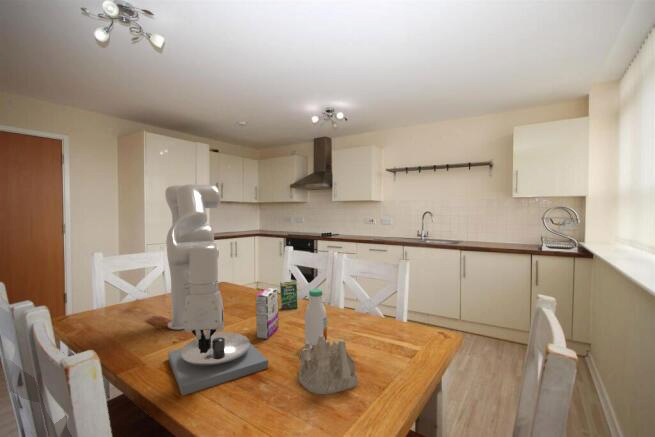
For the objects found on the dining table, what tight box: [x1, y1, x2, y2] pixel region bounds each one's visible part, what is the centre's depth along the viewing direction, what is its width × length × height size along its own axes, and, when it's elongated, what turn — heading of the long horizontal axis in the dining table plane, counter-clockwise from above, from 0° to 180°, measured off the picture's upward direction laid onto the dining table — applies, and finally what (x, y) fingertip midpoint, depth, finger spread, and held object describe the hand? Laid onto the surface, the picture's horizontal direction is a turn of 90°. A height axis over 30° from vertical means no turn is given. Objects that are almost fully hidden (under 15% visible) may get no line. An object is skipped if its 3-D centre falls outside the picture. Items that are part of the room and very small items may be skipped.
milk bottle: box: [304, 288, 328, 346], centre depth 107 cm, size 8×8×20 cm
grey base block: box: [167, 341, 269, 397], centre depth 96 cm, size 24×24×4 cm
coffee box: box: [279, 280, 298, 311], centre depth 150 cm, size 8×3×13 cm, turn 103°
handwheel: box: [181, 332, 250, 366], centre depth 96 cm, size 20×20×7 cm
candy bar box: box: [255, 287, 279, 340], centre depth 119 cm, size 11×5×16 cm, turn 168°
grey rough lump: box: [298, 335, 359, 395], centre depth 88 cm, size 16×16×15 cm
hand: (204, 350), depth 88 cm, fingers closed
